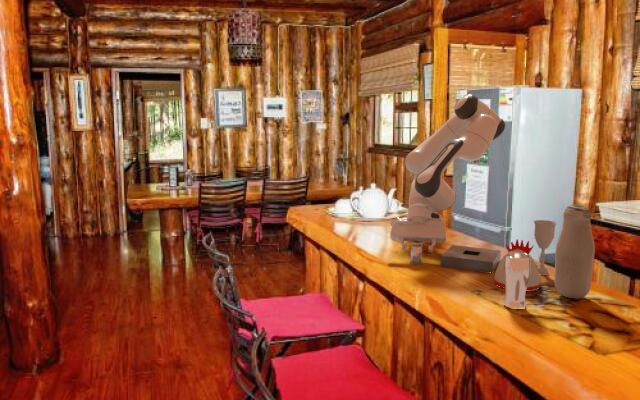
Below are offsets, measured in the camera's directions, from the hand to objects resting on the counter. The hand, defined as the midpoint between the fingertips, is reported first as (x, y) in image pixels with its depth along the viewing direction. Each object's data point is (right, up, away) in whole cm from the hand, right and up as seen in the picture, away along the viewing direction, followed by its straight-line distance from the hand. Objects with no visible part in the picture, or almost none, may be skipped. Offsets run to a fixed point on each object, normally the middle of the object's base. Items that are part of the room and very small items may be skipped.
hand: (417, 250), depth 193 cm
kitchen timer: (+28, -9, -23) cm, 37 cm away
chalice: (+41, -7, -11) cm, 43 cm away
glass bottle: (+40, -11, -34) cm, 54 cm away
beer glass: (+20, -12, -42) cm, 48 cm away
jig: (+20, -5, +1) cm, 21 cm away
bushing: (0, -5, +1) cm, 5 cm away
